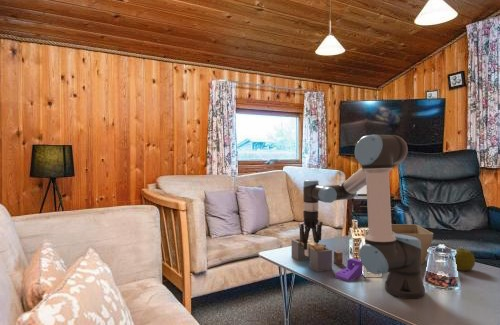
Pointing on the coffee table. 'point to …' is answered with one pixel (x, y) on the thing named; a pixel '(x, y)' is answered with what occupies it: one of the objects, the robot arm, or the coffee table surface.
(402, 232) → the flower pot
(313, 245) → the slat
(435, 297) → the coffee table surface
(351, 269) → the bracket
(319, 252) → the end caps
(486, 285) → the coffee table surface
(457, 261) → the apple
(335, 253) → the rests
